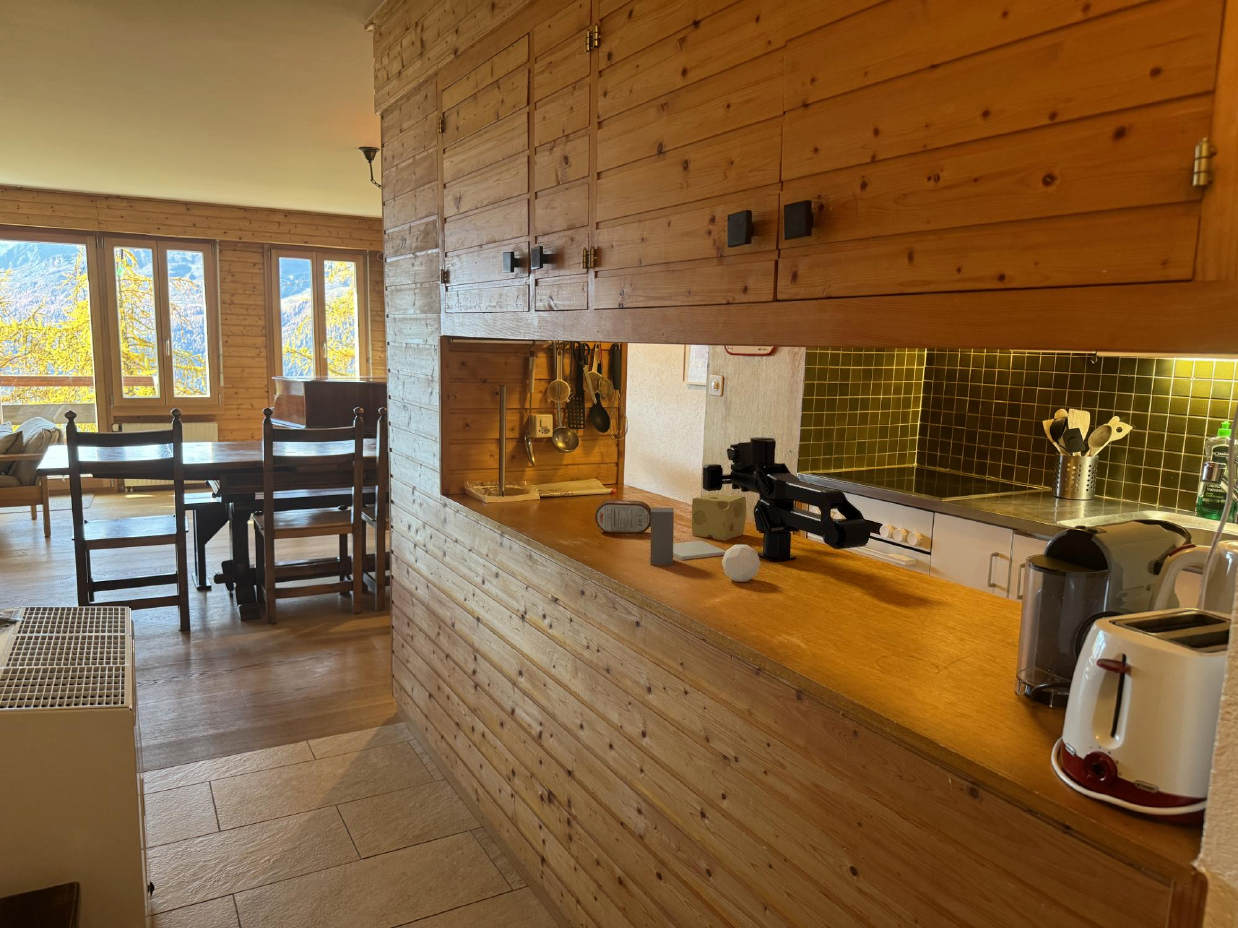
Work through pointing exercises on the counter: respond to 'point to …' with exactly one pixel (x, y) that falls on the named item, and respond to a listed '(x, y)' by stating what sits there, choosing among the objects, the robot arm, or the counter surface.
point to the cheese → (718, 516)
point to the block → (662, 536)
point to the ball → (741, 563)
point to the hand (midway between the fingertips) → (720, 471)
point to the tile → (695, 550)
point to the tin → (623, 516)
